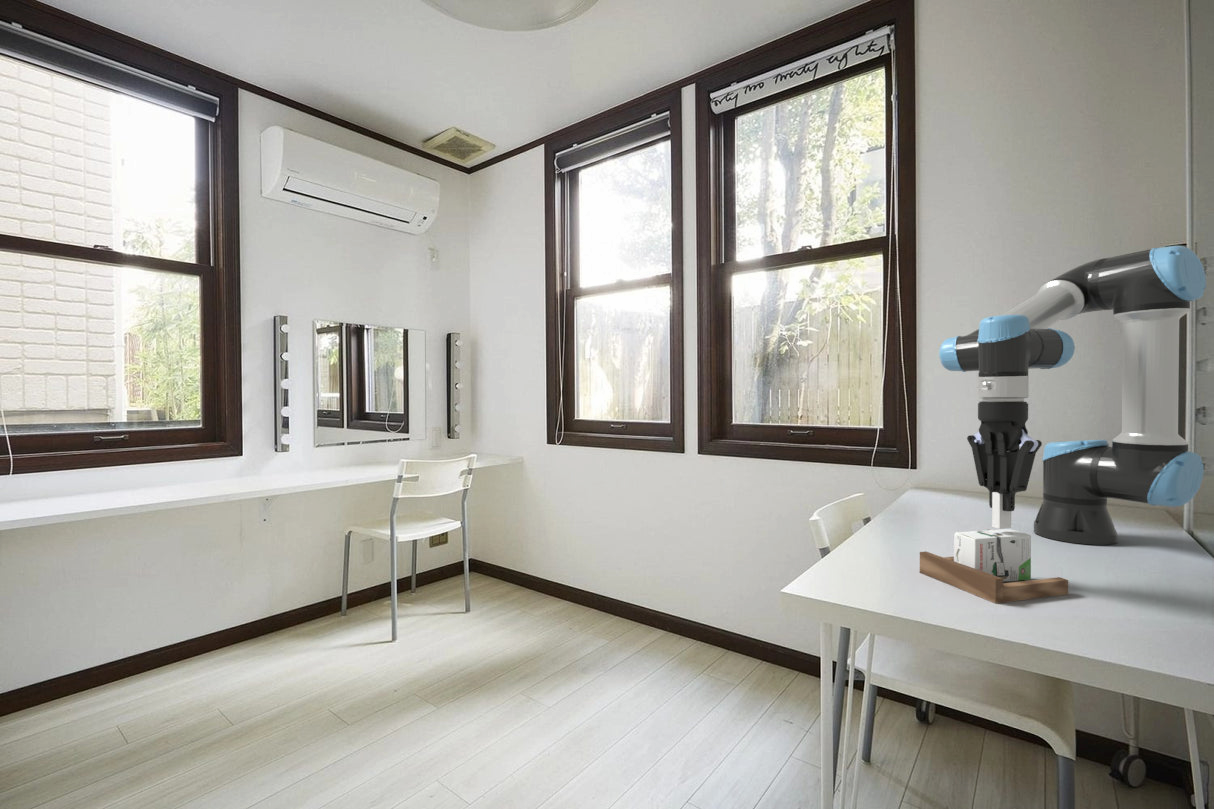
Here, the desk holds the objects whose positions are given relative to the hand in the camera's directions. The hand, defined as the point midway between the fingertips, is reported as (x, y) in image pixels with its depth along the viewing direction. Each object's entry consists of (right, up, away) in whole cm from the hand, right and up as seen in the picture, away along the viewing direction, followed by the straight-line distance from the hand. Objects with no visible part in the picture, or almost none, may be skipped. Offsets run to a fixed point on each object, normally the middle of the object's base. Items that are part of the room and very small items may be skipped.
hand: (1001, 527), depth 101 cm
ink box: (+4, -5, +1) cm, 7 cm away
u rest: (-3, -10, -1) cm, 10 cm away
